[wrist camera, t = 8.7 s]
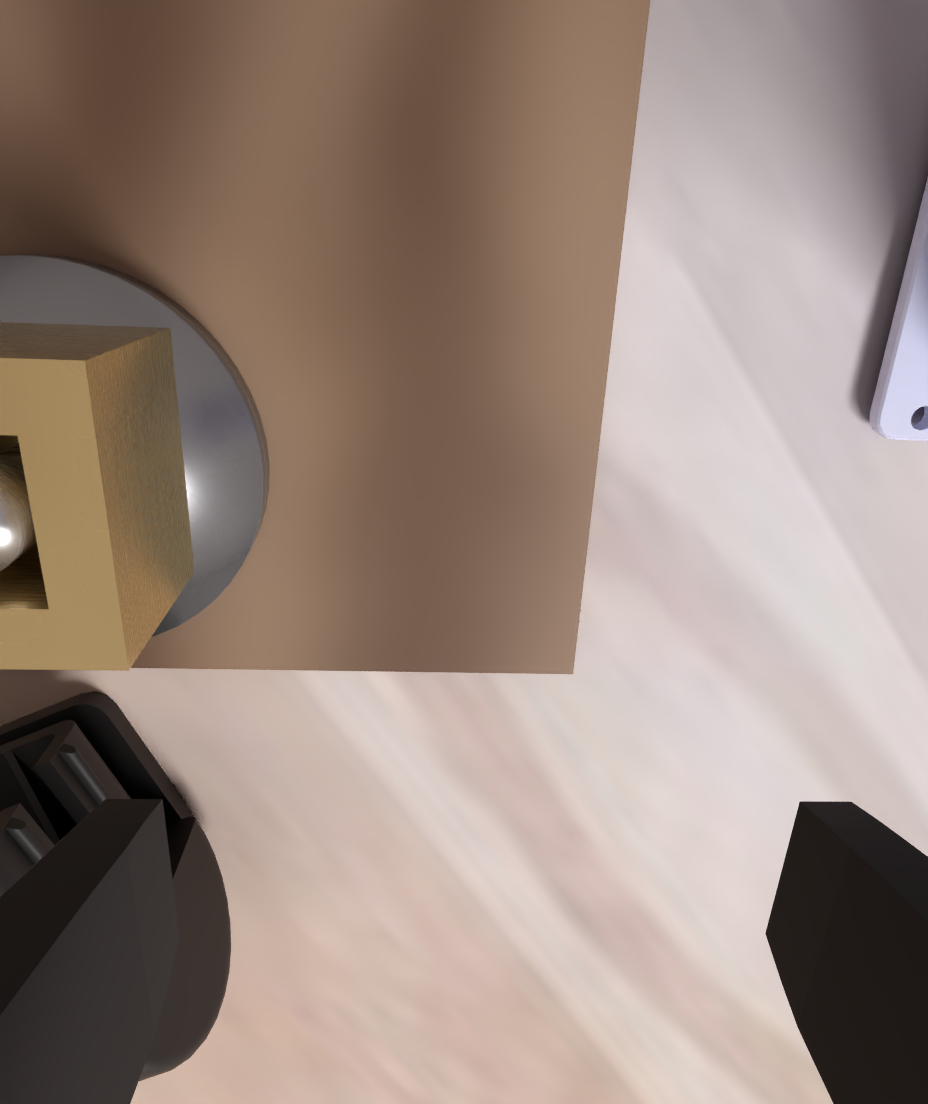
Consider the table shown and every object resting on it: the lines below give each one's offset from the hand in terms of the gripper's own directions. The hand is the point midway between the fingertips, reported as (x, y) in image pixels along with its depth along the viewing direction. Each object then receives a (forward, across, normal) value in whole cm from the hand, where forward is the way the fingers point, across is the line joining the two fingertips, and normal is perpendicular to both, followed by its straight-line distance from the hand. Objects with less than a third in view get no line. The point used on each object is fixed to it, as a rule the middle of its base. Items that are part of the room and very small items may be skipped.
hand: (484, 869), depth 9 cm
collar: (+8, +8, -2) cm, 12 cm away
